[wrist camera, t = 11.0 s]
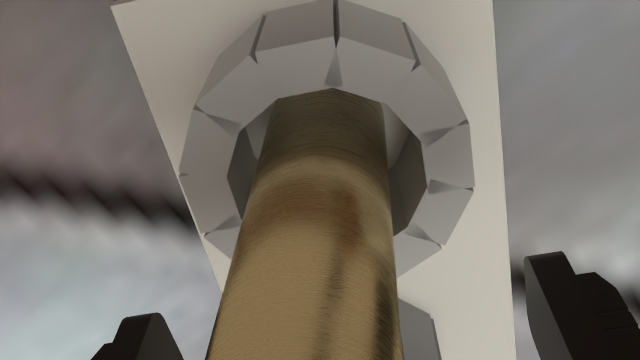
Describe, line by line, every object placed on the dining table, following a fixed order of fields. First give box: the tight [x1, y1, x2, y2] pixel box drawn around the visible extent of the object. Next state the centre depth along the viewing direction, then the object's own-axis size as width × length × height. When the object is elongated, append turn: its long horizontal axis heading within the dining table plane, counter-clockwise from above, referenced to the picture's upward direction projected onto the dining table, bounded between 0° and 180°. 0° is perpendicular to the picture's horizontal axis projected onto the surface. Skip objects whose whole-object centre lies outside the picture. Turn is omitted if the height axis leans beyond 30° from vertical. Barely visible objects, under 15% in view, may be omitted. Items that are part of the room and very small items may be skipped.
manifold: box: [110, 0, 516, 360], centre depth 23 cm, size 22×12×6 cm, turn 12°
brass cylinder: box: [205, 88, 403, 360], centre depth 16 cm, size 4×4×12 cm
